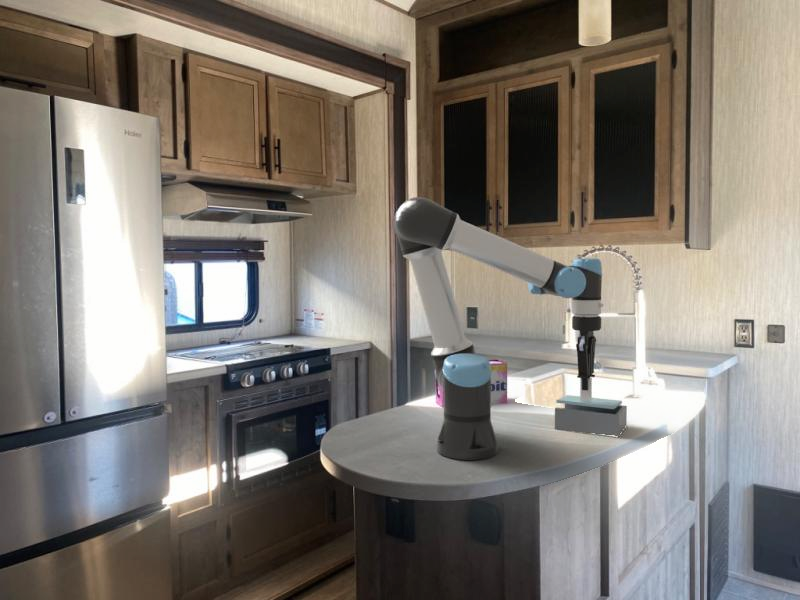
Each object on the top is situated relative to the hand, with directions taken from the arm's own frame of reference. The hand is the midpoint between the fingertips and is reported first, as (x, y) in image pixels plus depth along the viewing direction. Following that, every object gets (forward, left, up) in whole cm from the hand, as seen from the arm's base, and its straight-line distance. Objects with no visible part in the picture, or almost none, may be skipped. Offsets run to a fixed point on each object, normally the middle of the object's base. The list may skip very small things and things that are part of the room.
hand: (585, 401), depth 165 cm
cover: (+4, 0, -1) cm, 4 cm away
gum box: (+16, +41, -9) cm, 45 cm away
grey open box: (+4, 0, -8) cm, 9 cm away
